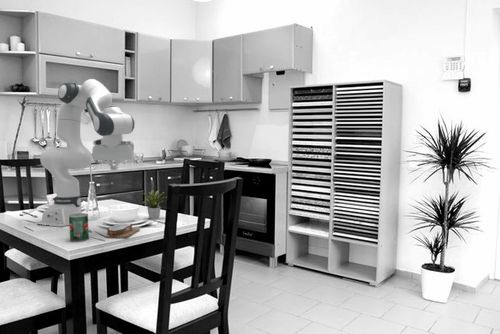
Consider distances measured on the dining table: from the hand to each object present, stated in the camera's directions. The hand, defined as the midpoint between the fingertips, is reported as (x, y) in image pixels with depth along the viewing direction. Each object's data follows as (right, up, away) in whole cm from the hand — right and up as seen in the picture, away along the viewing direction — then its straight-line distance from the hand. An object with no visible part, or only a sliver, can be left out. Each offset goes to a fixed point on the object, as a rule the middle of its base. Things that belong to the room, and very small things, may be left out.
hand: (114, 169), depth 210 cm
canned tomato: (-10, -31, -16) cm, 37 cm away
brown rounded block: (+1, -27, -7) cm, 28 cm away
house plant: (+13, -27, +25) cm, 39 cm away
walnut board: (+7, -30, -8) cm, 32 cm away
